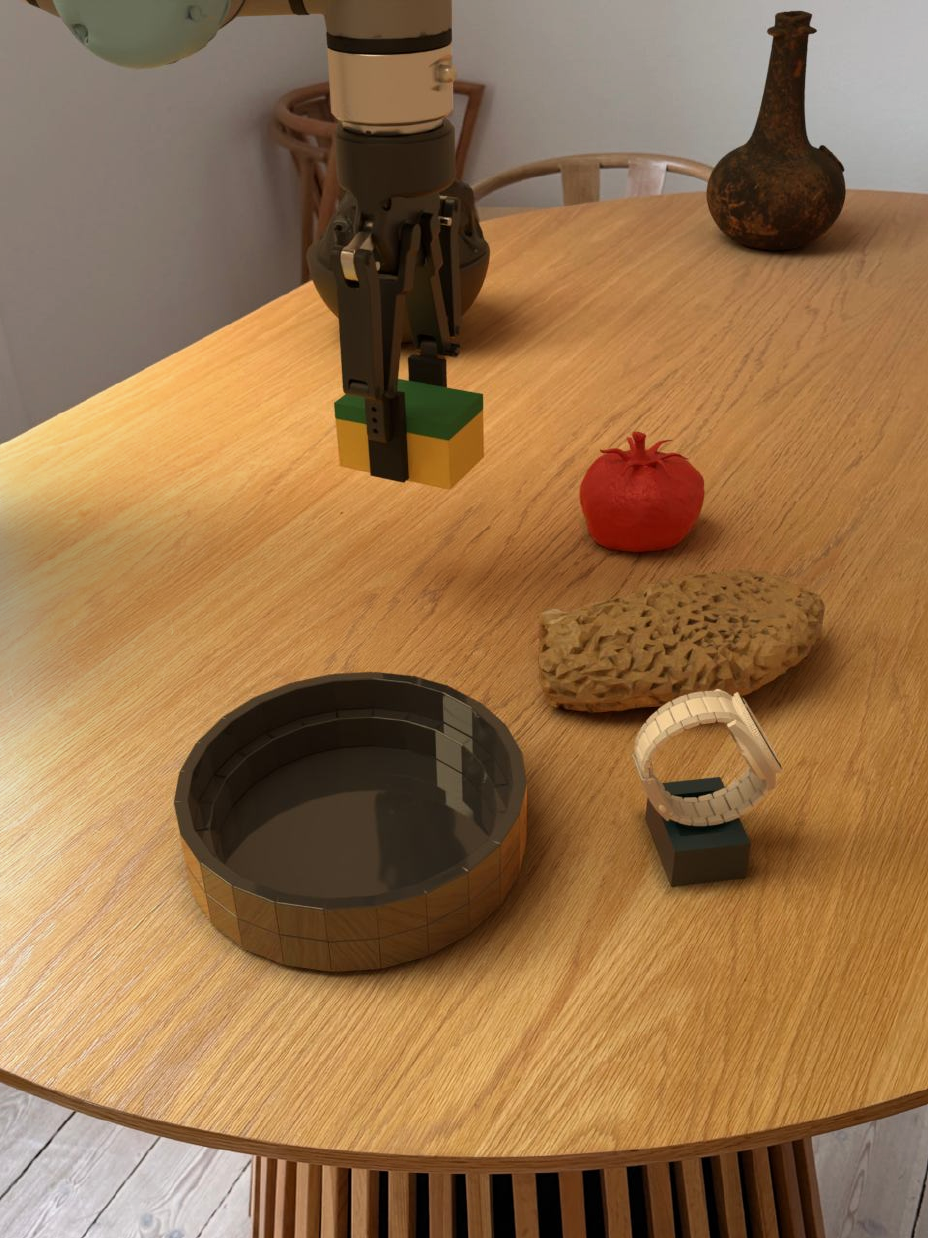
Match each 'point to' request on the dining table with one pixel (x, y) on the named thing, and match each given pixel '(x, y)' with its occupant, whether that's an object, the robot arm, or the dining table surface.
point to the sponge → (677, 641)
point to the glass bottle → (779, 159)
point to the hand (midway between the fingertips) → (410, 457)
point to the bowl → (353, 820)
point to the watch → (704, 791)
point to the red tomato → (641, 497)
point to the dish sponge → (421, 432)
